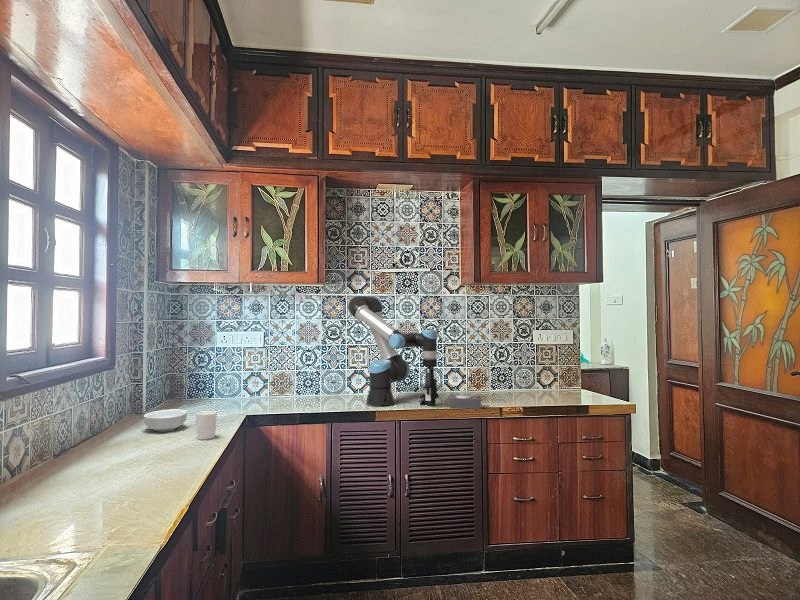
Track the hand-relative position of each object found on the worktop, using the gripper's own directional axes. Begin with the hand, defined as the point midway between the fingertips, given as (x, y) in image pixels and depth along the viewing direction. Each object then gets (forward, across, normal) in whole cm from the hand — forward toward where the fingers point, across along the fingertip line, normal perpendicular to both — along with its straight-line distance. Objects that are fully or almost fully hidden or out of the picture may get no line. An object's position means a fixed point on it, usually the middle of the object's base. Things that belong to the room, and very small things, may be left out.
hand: (429, 398), depth 264 cm
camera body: (+4, -1, -19) cm, 19 cm away
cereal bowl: (+4, -73, +105) cm, 128 cm away
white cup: (+4, -82, +80) cm, 115 cm away
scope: (+4, 0, 0) cm, 4 cm away
